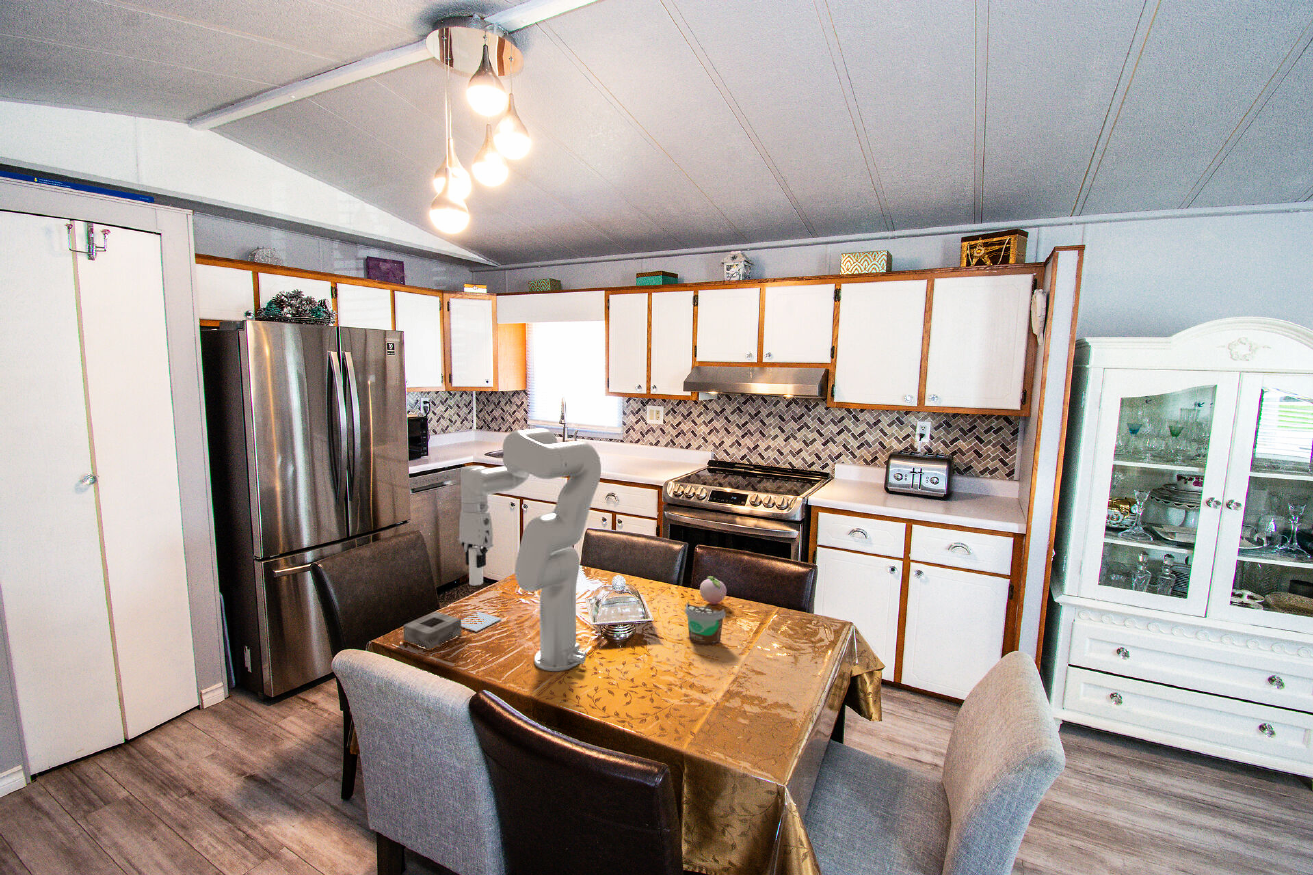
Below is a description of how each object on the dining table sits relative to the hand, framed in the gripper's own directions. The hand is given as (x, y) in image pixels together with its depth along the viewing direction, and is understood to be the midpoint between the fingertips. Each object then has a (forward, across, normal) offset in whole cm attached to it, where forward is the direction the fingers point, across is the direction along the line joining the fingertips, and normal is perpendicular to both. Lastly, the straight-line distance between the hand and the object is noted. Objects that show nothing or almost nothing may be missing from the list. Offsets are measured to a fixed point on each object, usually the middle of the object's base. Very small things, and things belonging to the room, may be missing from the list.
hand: (475, 564), depth 170 cm
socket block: (+19, +3, +14) cm, 23 cm away
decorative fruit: (+18, -57, -50) cm, 78 cm away
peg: (+6, 0, 0) cm, 6 cm away
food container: (+18, -65, -24) cm, 72 cm away
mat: (+19, 0, 0) cm, 19 cm away
